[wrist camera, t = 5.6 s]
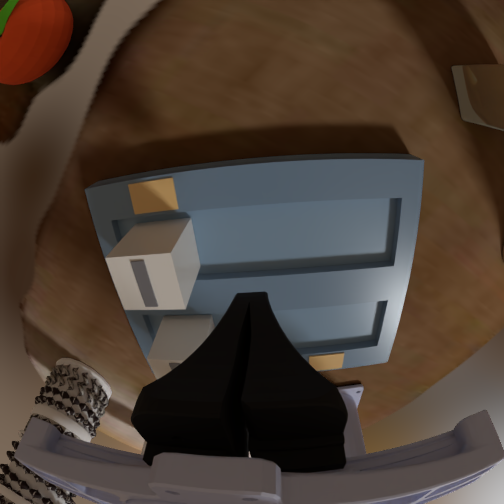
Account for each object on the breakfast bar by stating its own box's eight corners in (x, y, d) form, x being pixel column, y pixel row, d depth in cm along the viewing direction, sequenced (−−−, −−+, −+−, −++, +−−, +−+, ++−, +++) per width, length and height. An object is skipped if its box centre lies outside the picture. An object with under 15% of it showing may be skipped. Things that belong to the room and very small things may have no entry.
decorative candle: (79, 350, 28) (-2, 536, 6) (128, 398, 32) (79, 568, 10) (43, 359, 30) (-29, 506, 8) (86, 401, 34) (36, 541, 12)
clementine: (58, -16, 11) (1, -34, 5) (116, -1, 13) (59, -30, 6) (14, 69, 14) (-48, 75, 8) (63, 95, 16) (-5, 104, 9)
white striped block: (200, 265, 20) (185, 310, 16) (148, 269, 21) (123, 310, 16) (191, 217, 19) (170, 254, 14) (135, 223, 19) (104, 258, 15)
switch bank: (381, 347, 26) (387, 362, 24) (158, 358, 27) (153, 374, 25) (410, 154, 17) (424, 160, 15) (98, 181, 19) (83, 189, 17)
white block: (219, 346, 24) (212, 392, 20) (175, 346, 24) (161, 390, 20) (211, 314, 23) (201, 361, 18) (163, 315, 23) (146, 359, 18)
